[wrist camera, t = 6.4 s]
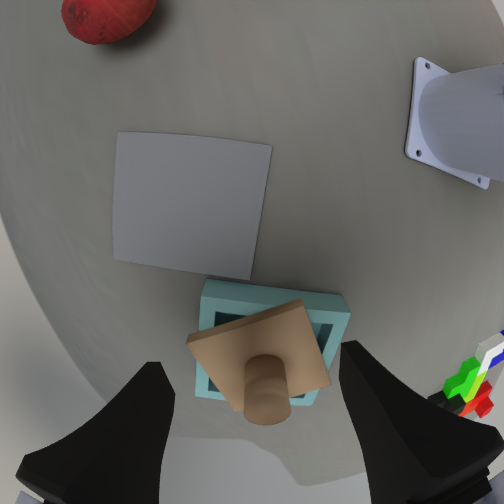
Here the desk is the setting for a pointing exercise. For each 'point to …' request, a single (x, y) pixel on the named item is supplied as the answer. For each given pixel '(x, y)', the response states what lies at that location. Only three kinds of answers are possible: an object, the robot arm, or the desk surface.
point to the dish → (262, 298)
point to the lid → (263, 361)
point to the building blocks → (472, 381)
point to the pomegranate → (105, 18)
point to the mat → (188, 202)
